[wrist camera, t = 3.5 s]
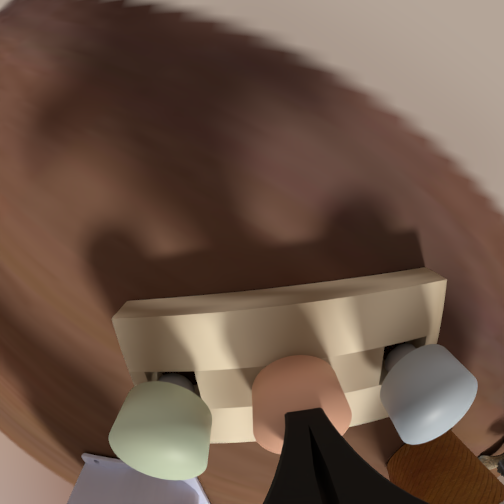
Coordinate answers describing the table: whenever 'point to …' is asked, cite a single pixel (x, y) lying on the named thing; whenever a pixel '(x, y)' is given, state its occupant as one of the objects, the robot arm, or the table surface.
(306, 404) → the peach round knob
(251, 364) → the button board
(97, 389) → the table surface
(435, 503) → the disposable coffee cup
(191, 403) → the sage button
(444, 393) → the slate button
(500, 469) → the eagle figurine
